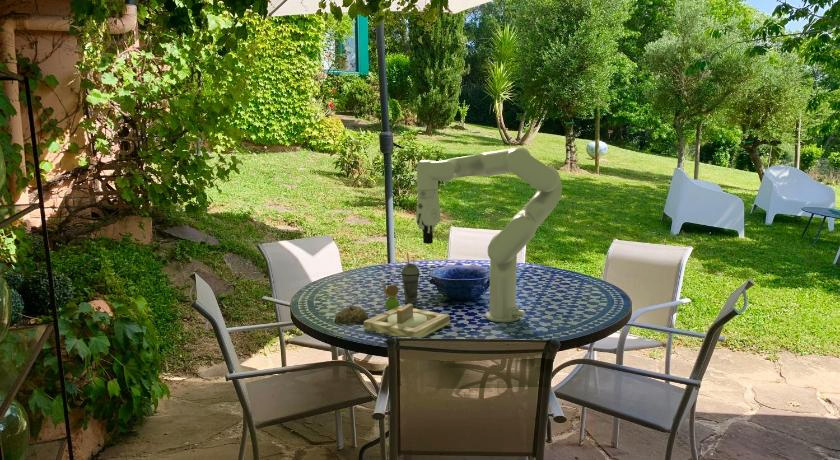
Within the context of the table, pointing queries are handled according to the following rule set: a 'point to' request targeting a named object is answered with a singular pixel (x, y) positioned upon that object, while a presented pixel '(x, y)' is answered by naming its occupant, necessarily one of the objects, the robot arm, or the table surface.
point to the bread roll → (351, 315)
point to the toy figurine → (391, 296)
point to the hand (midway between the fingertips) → (428, 243)
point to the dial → (407, 317)
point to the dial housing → (382, 325)
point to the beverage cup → (410, 281)
